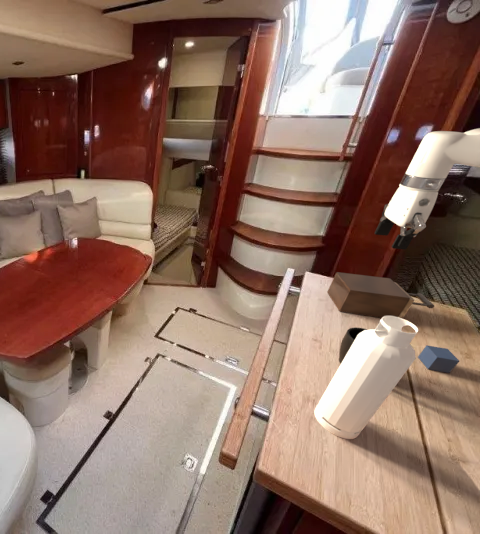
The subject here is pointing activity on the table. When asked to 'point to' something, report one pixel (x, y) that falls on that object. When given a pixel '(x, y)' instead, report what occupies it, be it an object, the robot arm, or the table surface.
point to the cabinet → (367, 295)
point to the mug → (348, 341)
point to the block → (438, 359)
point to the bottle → (366, 377)
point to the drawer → (411, 301)
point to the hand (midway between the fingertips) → (389, 241)
